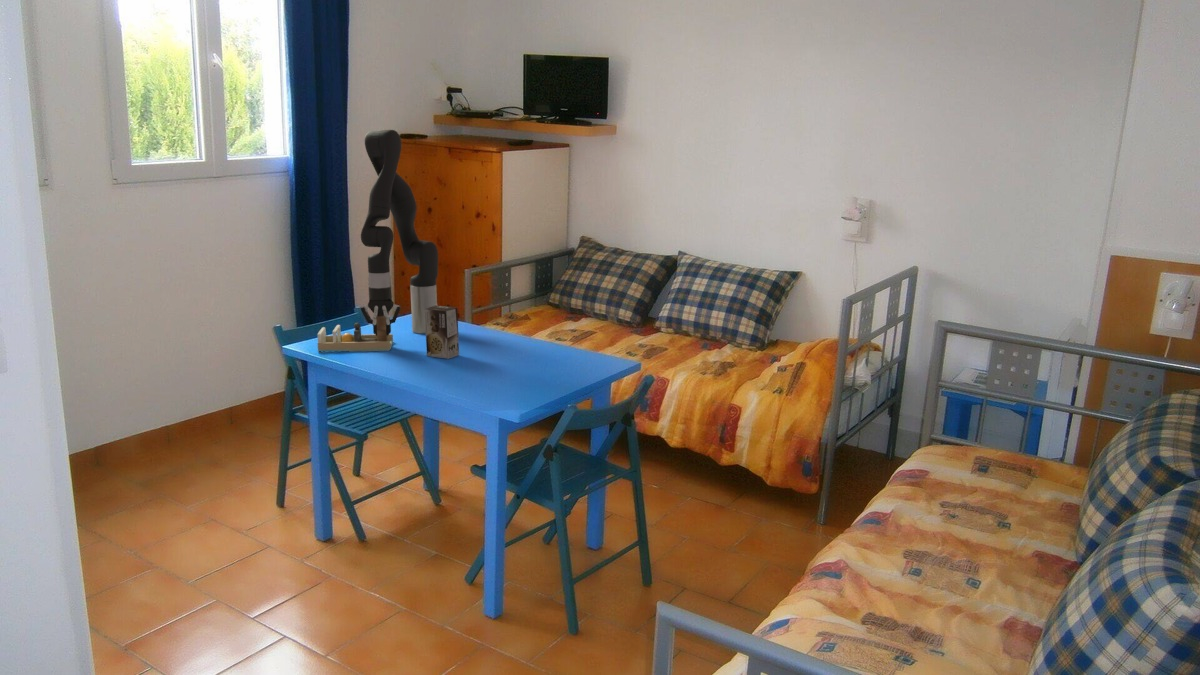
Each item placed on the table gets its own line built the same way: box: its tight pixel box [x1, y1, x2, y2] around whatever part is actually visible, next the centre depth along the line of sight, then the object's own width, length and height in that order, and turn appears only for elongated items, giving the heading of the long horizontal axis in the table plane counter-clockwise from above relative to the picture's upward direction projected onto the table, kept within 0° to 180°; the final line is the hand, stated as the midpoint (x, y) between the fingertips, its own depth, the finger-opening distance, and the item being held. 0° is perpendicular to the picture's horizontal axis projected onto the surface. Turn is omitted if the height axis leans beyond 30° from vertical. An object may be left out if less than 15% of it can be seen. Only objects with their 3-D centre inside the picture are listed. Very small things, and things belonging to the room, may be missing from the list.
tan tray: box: [317, 333, 394, 352], centre depth 319 cm, size 24×12×3 cm, turn 97°
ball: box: [342, 332, 354, 342], centre depth 318 cm, size 4×4×4 cm
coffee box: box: [425, 304, 460, 360], centre depth 307 cm, size 9×6×16 cm
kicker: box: [353, 315, 388, 342], centre depth 318 cm, size 11×6×10 cm, turn 97°
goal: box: [316, 324, 342, 344], centre depth 317 cm, size 6×10×6 cm, turn 7°
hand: (382, 334), depth 319 cm, fingers closed on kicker, 3 cm apart
